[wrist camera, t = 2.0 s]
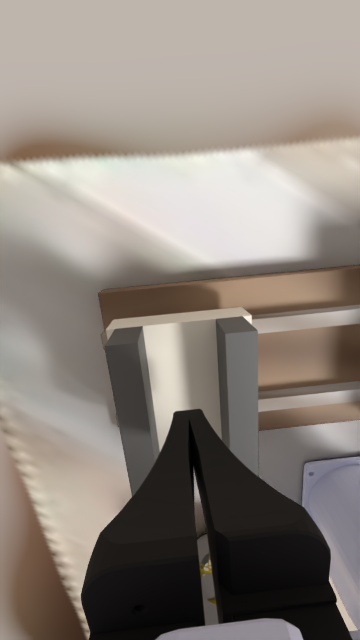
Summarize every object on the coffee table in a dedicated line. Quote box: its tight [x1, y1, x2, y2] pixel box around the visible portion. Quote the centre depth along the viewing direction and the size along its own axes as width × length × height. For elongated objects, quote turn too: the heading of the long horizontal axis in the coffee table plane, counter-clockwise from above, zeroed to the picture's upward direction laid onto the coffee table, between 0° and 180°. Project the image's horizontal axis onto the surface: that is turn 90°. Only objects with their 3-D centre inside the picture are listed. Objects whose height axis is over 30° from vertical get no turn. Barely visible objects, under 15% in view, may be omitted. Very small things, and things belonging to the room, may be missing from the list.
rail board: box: [98, 265, 360, 431], centre depth 17 cm, size 12×26×7 cm, turn 95°
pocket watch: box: [197, 534, 219, 626], centre depth 21 cm, size 8×8×10 cm
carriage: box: [104, 307, 259, 496], centre depth 15 cm, size 9×8×4 cm
